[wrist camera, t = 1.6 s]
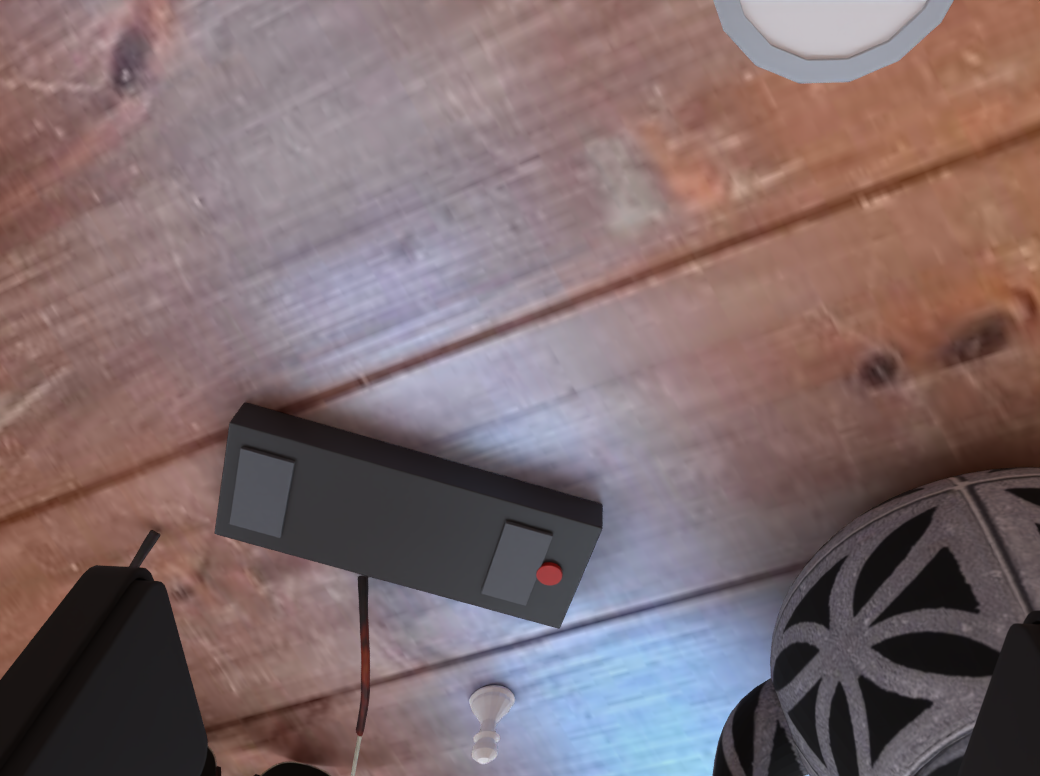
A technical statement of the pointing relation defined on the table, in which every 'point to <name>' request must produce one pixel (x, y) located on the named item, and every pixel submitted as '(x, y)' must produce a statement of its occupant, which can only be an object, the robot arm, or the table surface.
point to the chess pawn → (489, 719)
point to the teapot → (894, 635)
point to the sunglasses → (296, 772)
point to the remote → (404, 516)
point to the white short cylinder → (828, 34)
